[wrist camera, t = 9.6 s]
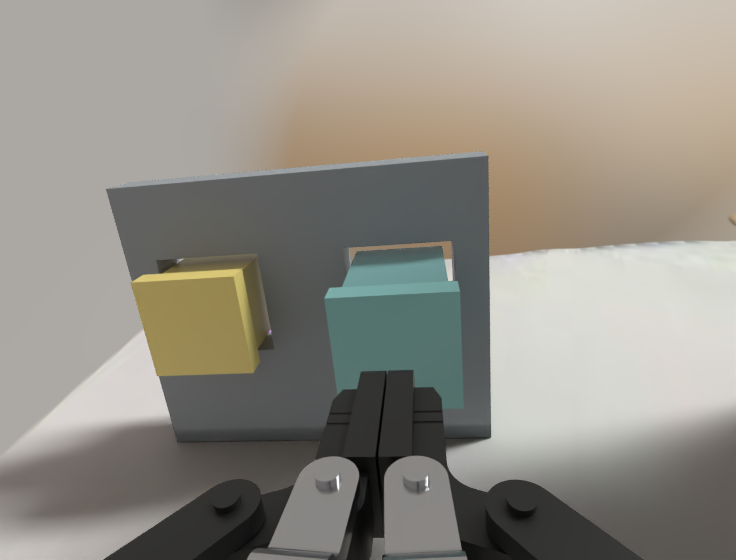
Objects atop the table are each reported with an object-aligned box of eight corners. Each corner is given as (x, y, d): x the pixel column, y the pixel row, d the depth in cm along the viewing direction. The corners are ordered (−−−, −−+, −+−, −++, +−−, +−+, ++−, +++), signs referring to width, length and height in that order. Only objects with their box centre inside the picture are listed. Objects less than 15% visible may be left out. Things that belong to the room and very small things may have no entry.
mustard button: (290, 313, 27) (277, 235, 26) (253, 373, 21) (233, 276, 20) (214, 317, 28) (197, 241, 26) (157, 376, 22) (130, 282, 20)
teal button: (451, 329, 23) (448, 239, 22) (463, 408, 17) (459, 291, 16) (359, 333, 24) (349, 245, 22) (339, 411, 18) (324, 298, 16)
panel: (479, 383, 29) (474, 145, 24) (490, 437, 24) (488, 155, 19) (213, 390, 31) (161, 174, 26) (177, 441, 26) (106, 189, 21)
